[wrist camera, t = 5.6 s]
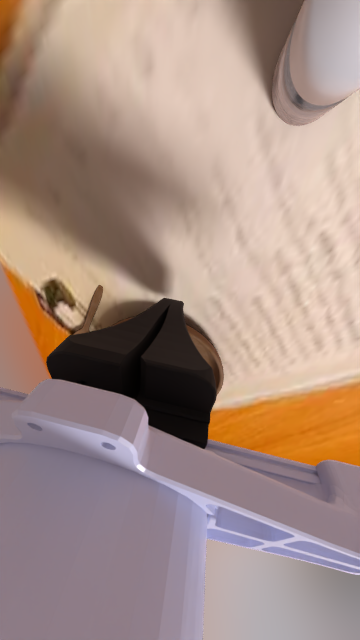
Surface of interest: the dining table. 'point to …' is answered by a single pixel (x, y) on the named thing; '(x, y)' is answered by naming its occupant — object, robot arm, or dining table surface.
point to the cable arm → (326, 51)
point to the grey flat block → (292, 93)
